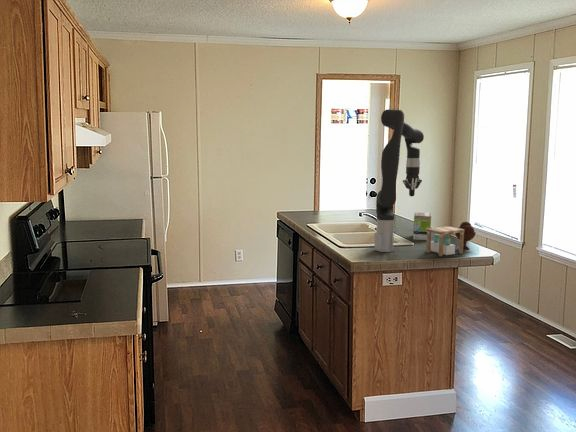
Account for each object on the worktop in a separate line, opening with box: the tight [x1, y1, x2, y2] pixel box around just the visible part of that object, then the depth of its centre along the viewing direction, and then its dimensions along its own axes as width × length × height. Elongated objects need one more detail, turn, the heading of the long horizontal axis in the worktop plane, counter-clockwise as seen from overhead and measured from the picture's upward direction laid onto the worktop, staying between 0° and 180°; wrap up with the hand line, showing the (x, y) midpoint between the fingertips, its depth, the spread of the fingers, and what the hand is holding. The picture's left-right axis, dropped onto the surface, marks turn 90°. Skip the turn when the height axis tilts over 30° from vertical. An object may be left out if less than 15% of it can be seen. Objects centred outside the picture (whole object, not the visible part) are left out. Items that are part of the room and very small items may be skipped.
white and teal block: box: [430, 233, 456, 256], centre depth 327 cm, size 6×14×9 cm, turn 29°
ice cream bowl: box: [454, 221, 476, 251], centre depth 336 cm, size 11×11×15 cm
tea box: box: [412, 211, 432, 241], centre depth 367 cm, size 15×10×15 cm, turn 168°
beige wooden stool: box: [425, 225, 464, 257], centre depth 324 cm, size 16×11×13 cm
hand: (411, 196), depth 350 cm, fingers closed
